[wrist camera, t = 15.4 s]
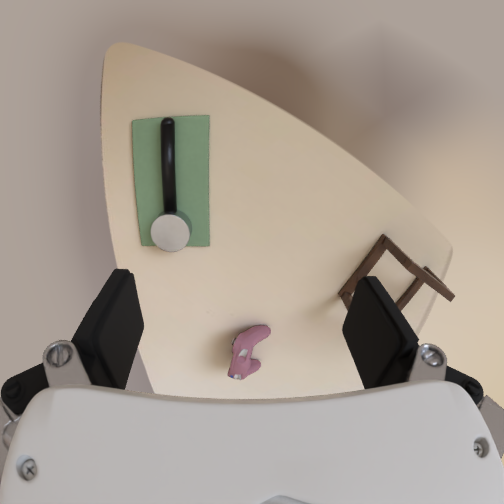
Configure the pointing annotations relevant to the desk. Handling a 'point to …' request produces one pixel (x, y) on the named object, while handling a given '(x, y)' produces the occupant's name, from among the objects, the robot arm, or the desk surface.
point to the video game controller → (246, 352)
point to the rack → (411, 266)
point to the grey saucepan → (170, 198)
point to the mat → (186, 169)
